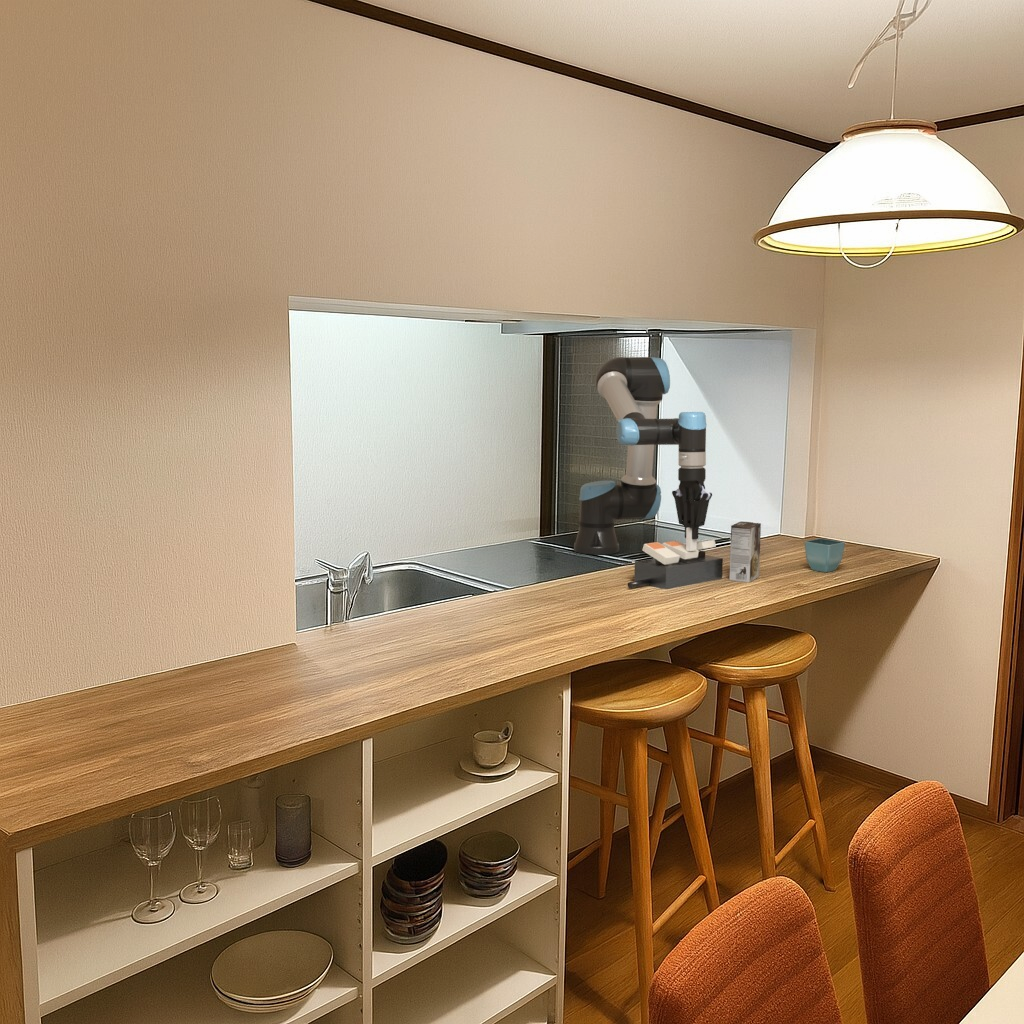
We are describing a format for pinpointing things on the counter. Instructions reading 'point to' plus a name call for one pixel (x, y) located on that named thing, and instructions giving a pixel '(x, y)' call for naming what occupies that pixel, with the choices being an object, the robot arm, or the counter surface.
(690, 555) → the rocker
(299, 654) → the counter surface
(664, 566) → the dark gray long block
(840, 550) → the flower pot
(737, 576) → the coffee box
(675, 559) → the rocker
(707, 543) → the rocker
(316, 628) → the counter surface
